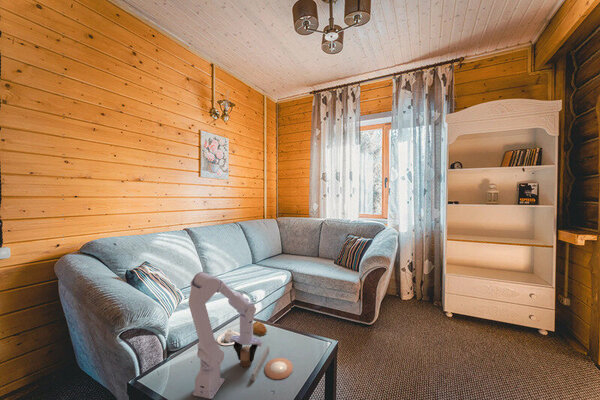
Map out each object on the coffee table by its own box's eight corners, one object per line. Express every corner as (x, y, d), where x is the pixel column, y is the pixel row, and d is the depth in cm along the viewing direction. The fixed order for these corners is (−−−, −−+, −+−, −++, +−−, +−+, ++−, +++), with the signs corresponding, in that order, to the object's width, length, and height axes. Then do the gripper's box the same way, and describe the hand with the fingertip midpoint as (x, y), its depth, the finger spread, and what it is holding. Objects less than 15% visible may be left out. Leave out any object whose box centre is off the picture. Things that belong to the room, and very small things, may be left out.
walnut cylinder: (249, 368, 105) (249, 354, 105) (238, 366, 106) (238, 352, 106) (253, 360, 110) (253, 347, 110) (243, 358, 111) (243, 345, 111)
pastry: (270, 332, 132) (270, 325, 132) (260, 337, 127) (260, 330, 127) (259, 325, 139) (259, 319, 139) (249, 330, 134) (249, 323, 134)
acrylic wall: (254, 381, 98) (254, 374, 97) (251, 380, 98) (251, 373, 98) (269, 352, 115) (269, 346, 115) (266, 352, 115) (266, 346, 115)
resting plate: (288, 381, 98) (288, 379, 98) (260, 376, 100) (260, 374, 100) (295, 361, 109) (295, 360, 109) (270, 357, 112) (270, 356, 112)
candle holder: (230, 330, 134) (230, 322, 134) (246, 337, 127) (246, 329, 127) (211, 341, 124) (212, 332, 124) (227, 349, 118) (227, 340, 117)
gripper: (265, 326, 110) (264, 356, 110) (235, 322, 113) (235, 351, 113) (259, 335, 103) (259, 366, 103) (227, 330, 106) (227, 361, 106)
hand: (246, 359), depth 108 cm, fingers closed on walnut cylinder, 5 cm apart
